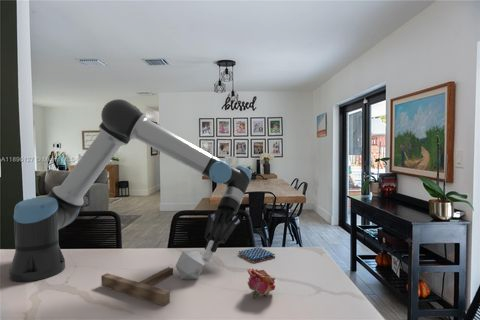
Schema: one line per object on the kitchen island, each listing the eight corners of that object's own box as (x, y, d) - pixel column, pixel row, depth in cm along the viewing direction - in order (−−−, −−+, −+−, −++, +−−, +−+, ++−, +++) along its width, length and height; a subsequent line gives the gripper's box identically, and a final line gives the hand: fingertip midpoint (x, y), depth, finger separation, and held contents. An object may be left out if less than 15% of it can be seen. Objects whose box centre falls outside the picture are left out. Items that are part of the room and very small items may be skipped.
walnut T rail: (101, 285, 89) (101, 275, 89) (143, 266, 103) (143, 258, 103) (164, 306, 77) (164, 294, 77) (201, 281, 91) (201, 271, 91)
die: (191, 288, 88) (209, 258, 91) (166, 271, 90) (185, 242, 92) (194, 286, 96) (211, 258, 99) (172, 271, 98) (189, 244, 100)
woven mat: (258, 250, 120) (258, 245, 120) (276, 259, 111) (276, 253, 111) (236, 256, 114) (236, 250, 114) (253, 265, 105) (253, 259, 105)
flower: (262, 303, 75) (274, 274, 78) (234, 287, 80) (246, 261, 82) (272, 308, 82) (282, 281, 85) (245, 294, 87) (256, 269, 90)
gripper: (249, 209, 114) (226, 268, 100) (219, 206, 120) (194, 261, 106) (242, 197, 109) (218, 258, 95) (212, 194, 116) (184, 251, 102)
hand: (205, 259), depth 101 cm, fingers closed
